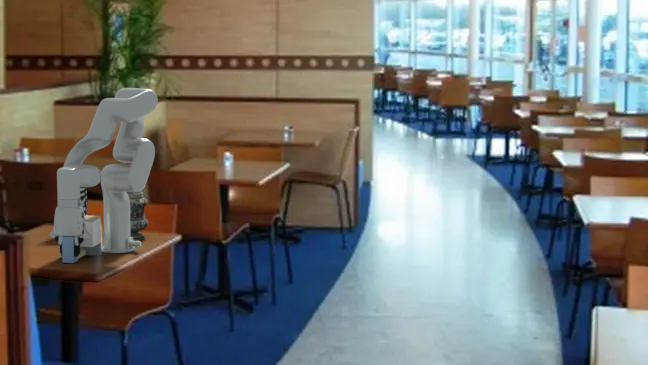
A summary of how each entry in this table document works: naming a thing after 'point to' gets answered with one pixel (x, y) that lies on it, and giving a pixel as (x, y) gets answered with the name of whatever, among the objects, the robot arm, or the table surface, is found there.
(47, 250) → the table surface
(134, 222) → the apothecary jar
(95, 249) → the cabinet
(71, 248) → the light blue block
